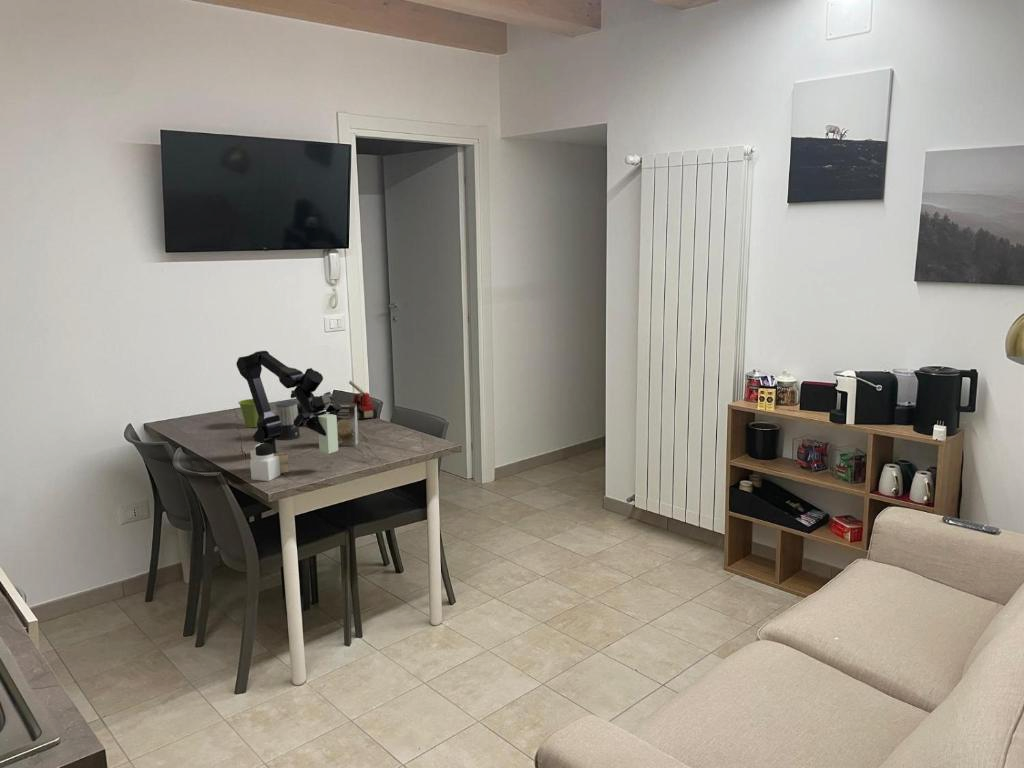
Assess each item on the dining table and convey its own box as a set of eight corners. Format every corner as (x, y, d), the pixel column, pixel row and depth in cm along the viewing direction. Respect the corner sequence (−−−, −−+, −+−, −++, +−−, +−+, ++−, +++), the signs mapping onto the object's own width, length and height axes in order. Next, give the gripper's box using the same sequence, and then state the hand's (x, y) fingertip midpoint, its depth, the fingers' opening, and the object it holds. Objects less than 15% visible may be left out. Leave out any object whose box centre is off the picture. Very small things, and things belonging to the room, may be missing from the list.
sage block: (319, 451, 273) (317, 416, 270) (329, 448, 277) (327, 413, 274) (328, 453, 270) (326, 417, 268) (338, 450, 274) (336, 415, 271)
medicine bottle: (280, 475, 269) (278, 442, 267) (269, 481, 262) (266, 447, 260) (263, 473, 271) (260, 440, 269) (251, 479, 264) (248, 446, 262)
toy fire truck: (369, 411, 363) (367, 375, 359) (377, 419, 349) (376, 381, 345) (345, 414, 358) (343, 377, 355) (353, 421, 344) (350, 383, 341)
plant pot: (272, 422, 343) (270, 398, 341) (261, 429, 332) (259, 404, 329) (247, 422, 344) (245, 398, 342) (235, 429, 333) (233, 404, 331)
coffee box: (333, 446, 304) (330, 407, 301) (336, 442, 311) (333, 403, 307) (356, 446, 305) (354, 406, 301) (359, 441, 311) (356, 403, 308)
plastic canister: (251, 468, 278) (250, 449, 276) (266, 466, 279) (264, 448, 278) (252, 472, 273) (250, 453, 272) (266, 470, 275) (265, 451, 273)
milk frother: (293, 440, 313) (290, 405, 310) (258, 439, 317) (255, 404, 314) (309, 432, 327) (307, 398, 324) (275, 430, 330) (273, 396, 327)
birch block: (270, 470, 274) (269, 454, 273) (284, 468, 277) (283, 452, 276) (275, 474, 270) (274, 457, 269) (289, 471, 273) (288, 455, 272)
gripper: (296, 390, 263) (321, 426, 259) (336, 381, 279) (360, 414, 275) (283, 410, 269) (306, 445, 265) (322, 400, 284) (345, 433, 281)
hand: (330, 433), depth 271 cm, fingers closed on sage block, 5 cm apart
